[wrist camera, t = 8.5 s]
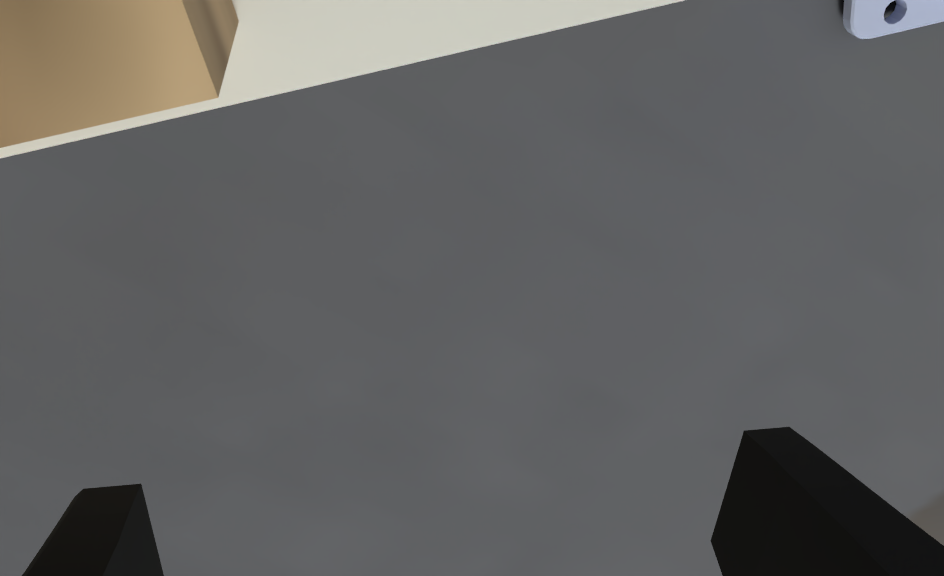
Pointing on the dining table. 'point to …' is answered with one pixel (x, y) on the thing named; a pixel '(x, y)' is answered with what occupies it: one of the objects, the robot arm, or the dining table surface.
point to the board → (358, 43)
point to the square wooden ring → (106, 61)
